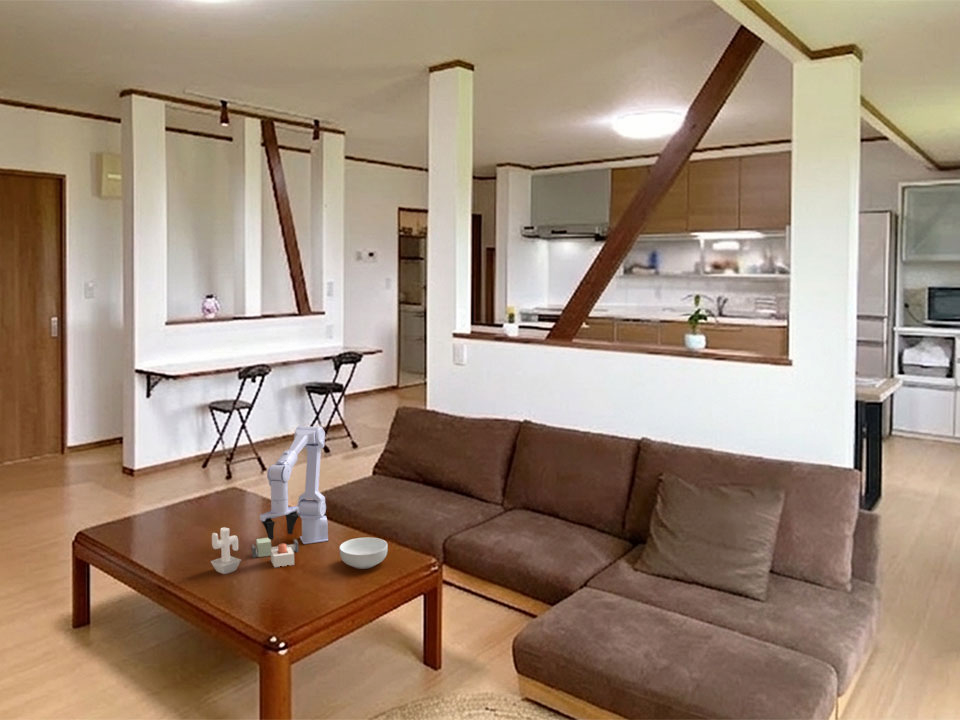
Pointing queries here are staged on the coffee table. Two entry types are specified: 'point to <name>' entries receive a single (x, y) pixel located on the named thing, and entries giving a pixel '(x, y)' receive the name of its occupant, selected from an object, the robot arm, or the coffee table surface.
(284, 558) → the box
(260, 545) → the block
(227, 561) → the figurine
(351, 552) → the cereal bowl
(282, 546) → the plunger
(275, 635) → the coffee table surface
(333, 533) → the coffee table surface
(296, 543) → the slide rail
